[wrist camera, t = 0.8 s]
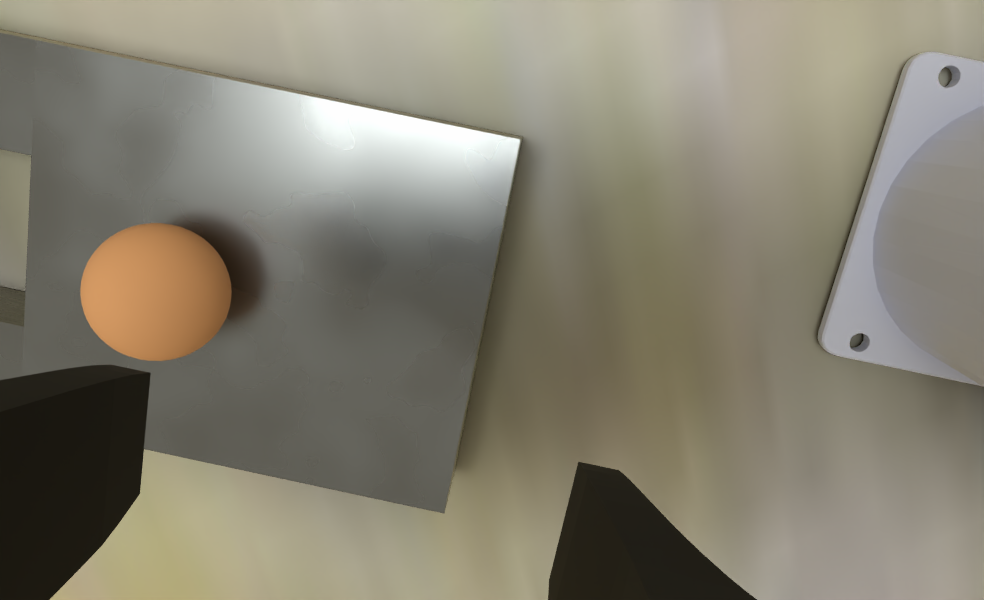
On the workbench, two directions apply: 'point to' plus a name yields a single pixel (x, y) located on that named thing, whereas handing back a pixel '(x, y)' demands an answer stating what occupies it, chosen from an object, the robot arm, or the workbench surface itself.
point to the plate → (267, 260)
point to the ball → (155, 292)
